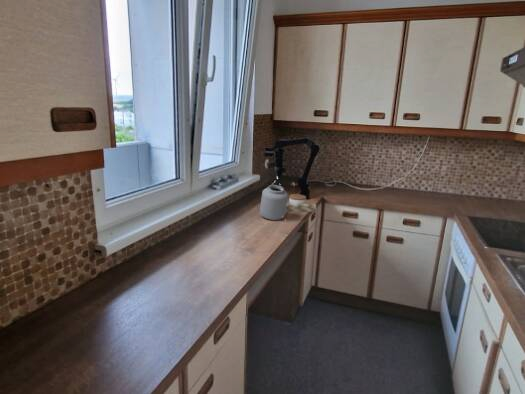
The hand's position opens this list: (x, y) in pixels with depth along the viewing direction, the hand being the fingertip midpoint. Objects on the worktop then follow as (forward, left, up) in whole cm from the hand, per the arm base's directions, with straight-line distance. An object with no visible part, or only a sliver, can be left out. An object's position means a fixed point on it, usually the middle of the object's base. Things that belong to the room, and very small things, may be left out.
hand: (278, 179), depth 253 cm
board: (-6, +38, -12) cm, 41 cm away
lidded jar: (-6, +32, -12) cm, 35 cm away
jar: (+13, +52, -12) cm, 55 cm away
